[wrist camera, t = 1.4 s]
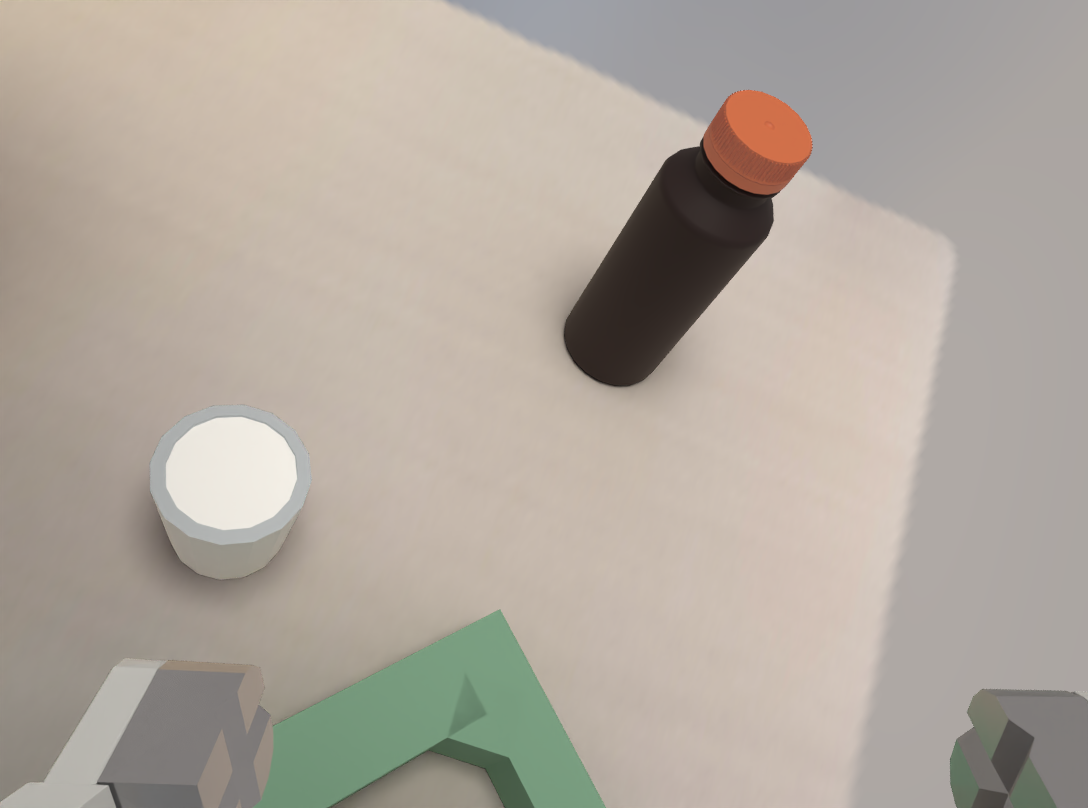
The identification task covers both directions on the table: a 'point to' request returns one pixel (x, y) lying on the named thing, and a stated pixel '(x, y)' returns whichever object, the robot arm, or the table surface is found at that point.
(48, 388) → the table surface
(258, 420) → the white cup
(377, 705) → the green cutout tray
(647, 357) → the bottle
